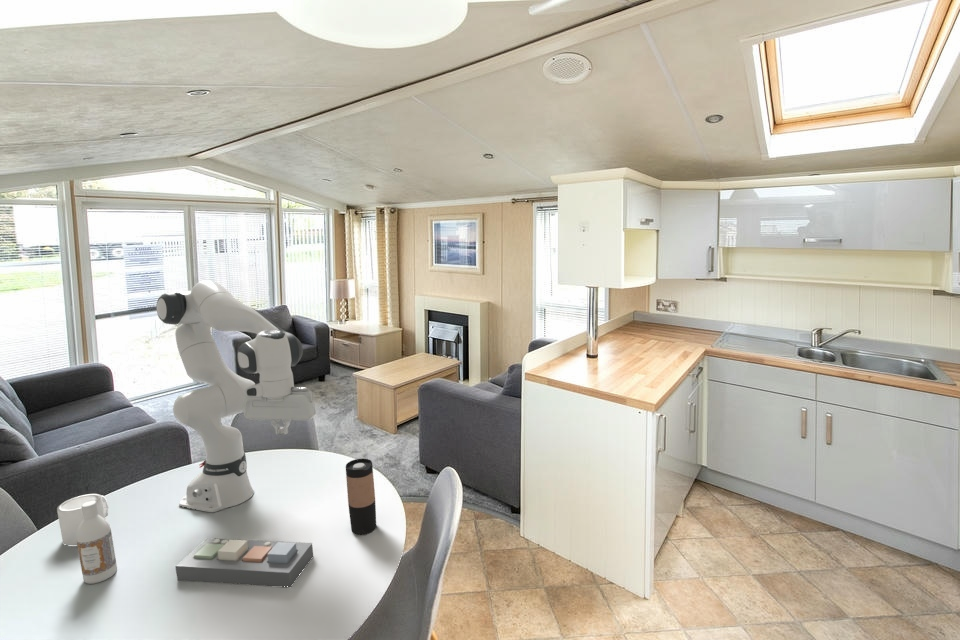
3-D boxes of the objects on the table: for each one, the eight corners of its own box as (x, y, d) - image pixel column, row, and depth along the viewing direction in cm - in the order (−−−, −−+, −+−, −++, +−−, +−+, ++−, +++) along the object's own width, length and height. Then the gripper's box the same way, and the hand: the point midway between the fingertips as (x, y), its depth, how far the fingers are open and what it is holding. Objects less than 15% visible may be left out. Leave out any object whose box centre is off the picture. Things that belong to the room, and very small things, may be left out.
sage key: (195, 569, 127) (193, 555, 126) (208, 557, 132) (207, 543, 131) (213, 570, 126) (211, 556, 126) (225, 558, 131) (224, 544, 131)
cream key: (219, 565, 126) (217, 551, 125) (231, 553, 131) (229, 539, 130) (237, 566, 125) (235, 552, 125) (249, 554, 130) (247, 540, 130)
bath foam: (77, 587, 123) (64, 512, 120) (92, 569, 130) (80, 498, 127) (109, 581, 125) (97, 508, 121) (122, 564, 131) (111, 494, 128)
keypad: (177, 580, 124) (175, 564, 123) (209, 551, 136) (207, 536, 135) (290, 587, 120) (288, 571, 119) (313, 556, 132) (312, 542, 131)
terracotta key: (244, 572, 125) (242, 557, 125) (255, 559, 130) (254, 545, 130) (262, 573, 125) (261, 558, 124) (273, 560, 129) (272, 546, 129)
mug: (89, 521, 154) (83, 489, 152) (122, 519, 154) (117, 487, 152) (53, 547, 140) (47, 512, 139) (90, 545, 141) (84, 510, 139)
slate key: (268, 568, 124) (267, 553, 123) (279, 556, 129) (277, 542, 128) (287, 569, 123) (285, 554, 123) (297, 557, 128) (295, 542, 128)
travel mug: (352, 522, 148) (347, 459, 145) (378, 520, 148) (374, 457, 145) (348, 537, 140) (342, 471, 137) (375, 534, 141) (370, 469, 138)
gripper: (317, 384, 141) (321, 430, 143) (251, 384, 144) (256, 429, 146) (306, 390, 135) (311, 438, 137) (237, 390, 138) (243, 437, 140)
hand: (282, 433), depth 142 cm, fingers closed
